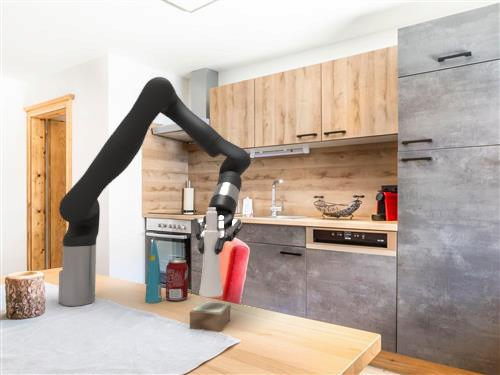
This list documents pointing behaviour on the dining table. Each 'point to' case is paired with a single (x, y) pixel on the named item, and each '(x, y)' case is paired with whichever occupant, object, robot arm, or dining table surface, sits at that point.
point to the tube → (153, 277)
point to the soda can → (176, 280)
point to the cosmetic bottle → (211, 258)
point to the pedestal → (210, 316)
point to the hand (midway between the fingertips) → (209, 252)
